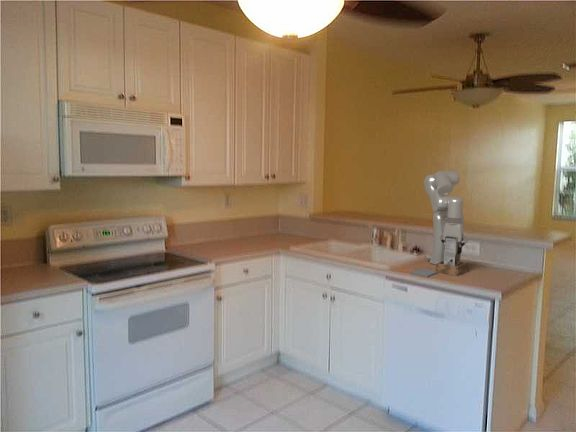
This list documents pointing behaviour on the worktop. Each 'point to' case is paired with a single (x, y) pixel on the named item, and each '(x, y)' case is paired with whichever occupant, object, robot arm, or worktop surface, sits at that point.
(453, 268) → the holder
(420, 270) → the mat
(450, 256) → the coffee box
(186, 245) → the worktop surface
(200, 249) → the worktop surface
